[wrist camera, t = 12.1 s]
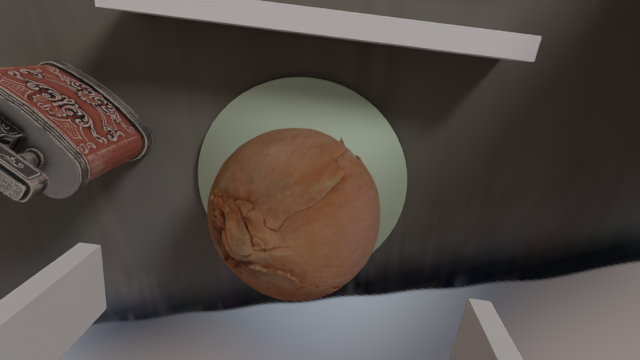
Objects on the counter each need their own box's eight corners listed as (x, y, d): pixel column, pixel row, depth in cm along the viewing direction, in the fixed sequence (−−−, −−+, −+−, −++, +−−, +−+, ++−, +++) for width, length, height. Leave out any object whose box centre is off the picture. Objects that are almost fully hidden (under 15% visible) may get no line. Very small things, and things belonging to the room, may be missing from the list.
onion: (256, 177, 28) (136, 223, 20) (333, 86, 23) (217, 96, 15) (336, 278, 27) (244, 373, 19) (437, 204, 22) (372, 288, 14)
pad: (426, 92, 23) (427, 93, 23) (385, 283, 28) (386, 287, 27) (201, 63, 23) (198, 63, 23) (199, 258, 28) (196, 262, 27)
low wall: (507, 38, 22) (541, 36, 18) (501, 59, 22) (534, 61, 19) (135, -9, 22) (93, -21, 18) (136, 13, 23) (95, 6, 19)
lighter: (32, 89, 24) (-162, 115, 15) (56, 47, 23) (-135, 46, 14) (136, 168, 26) (19, 237, 16) (163, 132, 25) (55, 183, 15)
